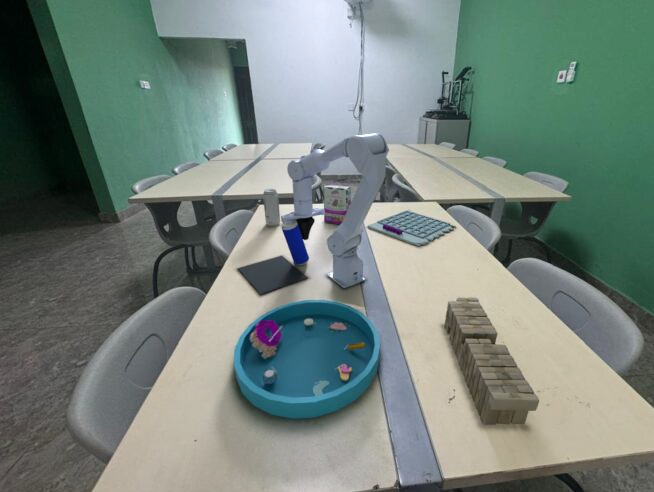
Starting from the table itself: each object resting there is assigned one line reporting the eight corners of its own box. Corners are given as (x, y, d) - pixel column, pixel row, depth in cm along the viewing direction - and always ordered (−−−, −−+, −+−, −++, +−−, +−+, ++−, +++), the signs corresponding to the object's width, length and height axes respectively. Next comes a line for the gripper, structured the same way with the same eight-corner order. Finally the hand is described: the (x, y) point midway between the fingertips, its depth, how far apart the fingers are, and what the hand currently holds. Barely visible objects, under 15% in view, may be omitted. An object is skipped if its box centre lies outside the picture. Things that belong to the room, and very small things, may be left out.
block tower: (442, 325, 81) (483, 433, 54) (446, 297, 77) (492, 397, 50) (472, 325, 81) (529, 433, 54) (477, 297, 78) (540, 397, 51)
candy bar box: (351, 222, 142) (351, 186, 135) (347, 226, 138) (347, 189, 131) (328, 218, 145) (327, 183, 138) (323, 222, 140) (322, 186, 134)
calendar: (456, 228, 140) (457, 223, 139) (420, 247, 120) (421, 241, 119) (406, 213, 157) (406, 208, 156) (367, 227, 137) (367, 222, 136)
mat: (308, 278, 97) (307, 277, 97) (260, 295, 88) (260, 293, 88) (281, 256, 110) (281, 255, 110) (238, 269, 101) (237, 268, 101)
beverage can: (311, 255, 108) (298, 217, 100) (307, 265, 103) (294, 226, 95) (296, 257, 109) (283, 219, 100) (292, 266, 104) (278, 228, 96)
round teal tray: (270, 307, 84) (268, 288, 81) (383, 318, 81) (384, 298, 79) (205, 407, 56) (199, 383, 54) (371, 429, 54) (373, 405, 51)
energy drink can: (265, 222, 138) (261, 189, 132) (279, 220, 140) (276, 187, 134) (267, 227, 133) (263, 192, 127) (281, 225, 135) (278, 191, 129)
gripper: (316, 192, 105) (317, 230, 111) (275, 199, 97) (278, 239, 102) (328, 197, 100) (328, 236, 106) (285, 205, 92) (289, 247, 97)
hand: (305, 238), depth 104 cm, fingers closed
